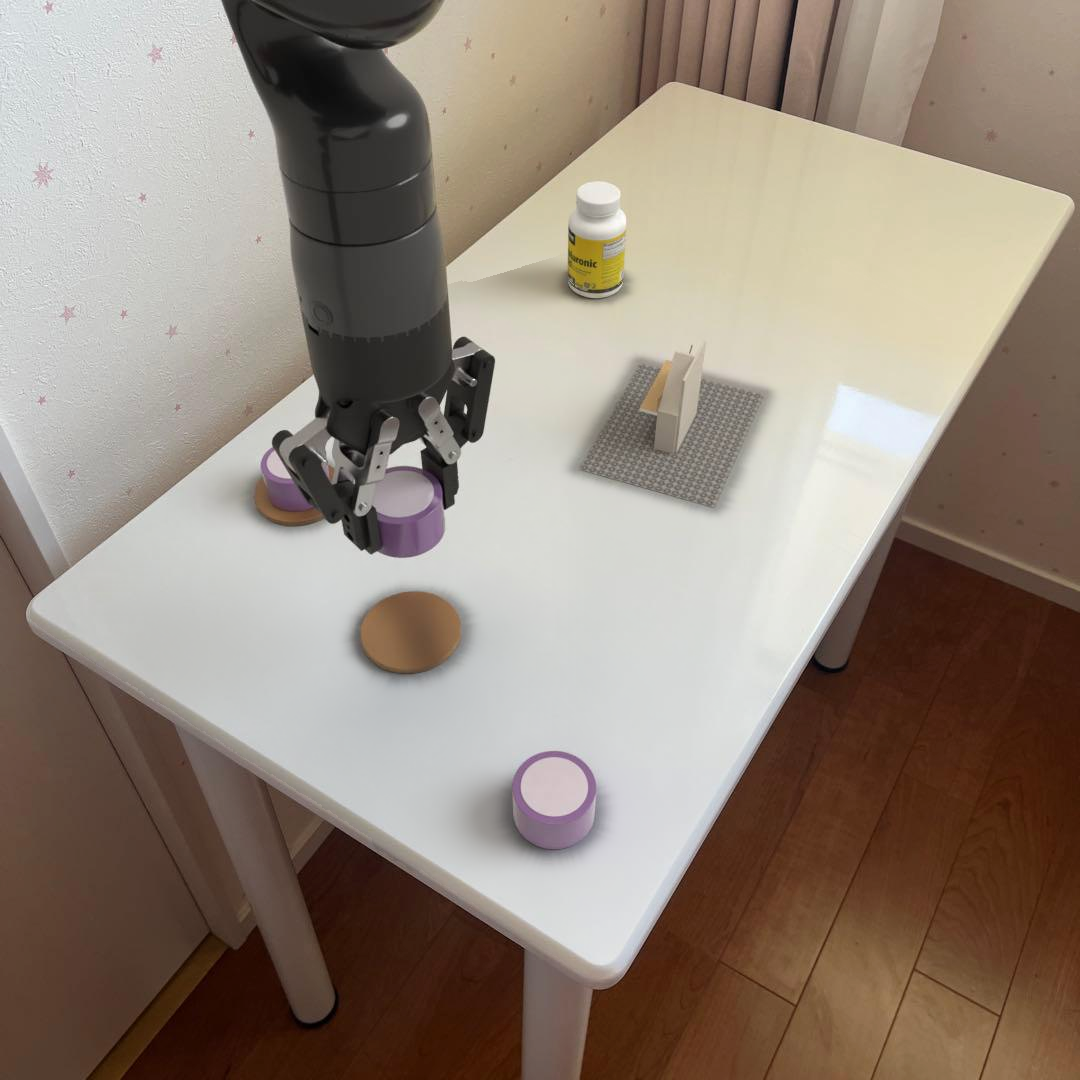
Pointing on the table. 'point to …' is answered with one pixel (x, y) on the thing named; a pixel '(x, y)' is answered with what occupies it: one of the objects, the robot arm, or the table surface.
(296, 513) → the coaster far
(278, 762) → the table surface
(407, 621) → the brown wooden coaster
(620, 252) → the supplement bottle
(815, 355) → the table surface
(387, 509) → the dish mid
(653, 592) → the table surface
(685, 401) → the architectural model
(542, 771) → the purple rimmed puck
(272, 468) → the purple short cylinder
